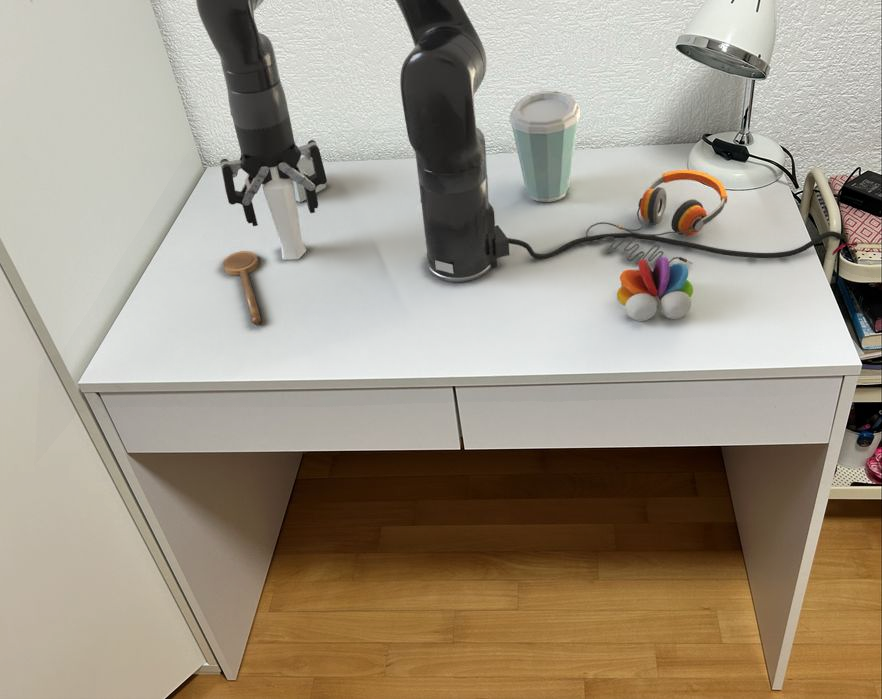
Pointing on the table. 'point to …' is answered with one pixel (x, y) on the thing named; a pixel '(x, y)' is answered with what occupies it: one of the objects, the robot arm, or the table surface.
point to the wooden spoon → (244, 277)
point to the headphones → (684, 219)
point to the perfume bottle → (284, 214)
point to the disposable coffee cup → (545, 142)
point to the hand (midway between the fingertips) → (283, 216)
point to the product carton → (309, 169)
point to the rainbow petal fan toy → (655, 290)
